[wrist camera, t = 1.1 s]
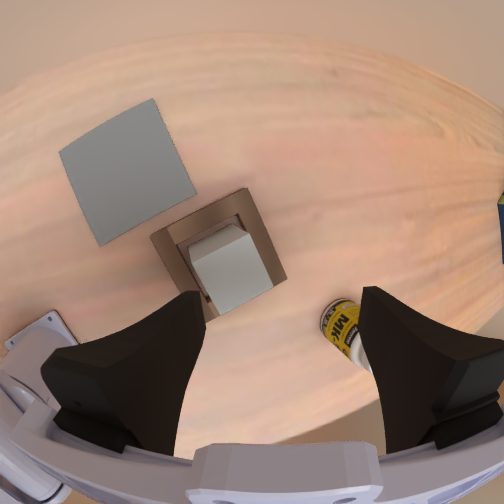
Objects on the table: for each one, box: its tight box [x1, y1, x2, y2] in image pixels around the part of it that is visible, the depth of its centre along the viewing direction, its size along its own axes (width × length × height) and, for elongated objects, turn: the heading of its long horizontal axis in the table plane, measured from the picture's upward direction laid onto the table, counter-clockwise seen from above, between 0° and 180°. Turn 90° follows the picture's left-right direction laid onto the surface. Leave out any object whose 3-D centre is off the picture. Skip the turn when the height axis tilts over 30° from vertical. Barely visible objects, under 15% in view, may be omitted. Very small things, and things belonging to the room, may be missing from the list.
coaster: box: [59, 98, 197, 247], centre depth 19 cm, size 9×9×1 cm
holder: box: [150, 188, 287, 323], centre depth 22 cm, size 8×8×1 cm
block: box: [188, 224, 274, 315], centre depth 20 cm, size 4×4×6 cm
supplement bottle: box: [321, 299, 373, 374], centre depth 24 cm, size 5×5×8 cm
